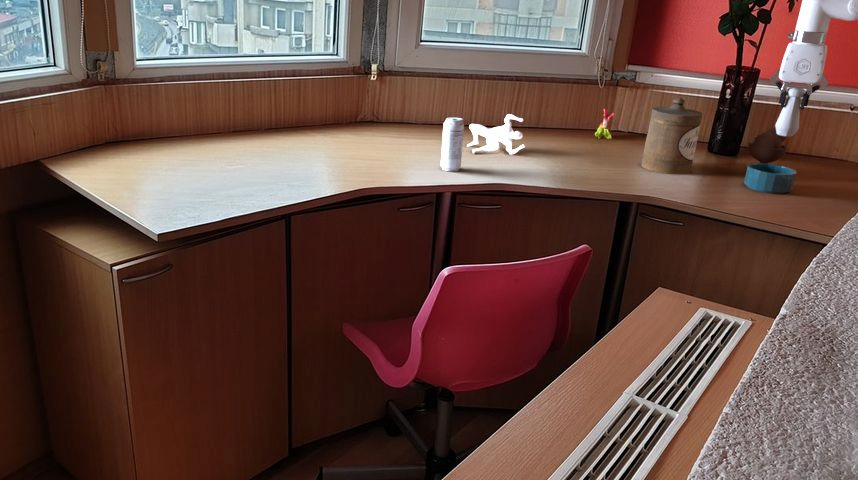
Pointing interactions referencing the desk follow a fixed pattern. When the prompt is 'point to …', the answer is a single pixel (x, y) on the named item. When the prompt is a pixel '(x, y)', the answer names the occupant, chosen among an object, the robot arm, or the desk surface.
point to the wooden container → (671, 139)
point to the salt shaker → (790, 113)
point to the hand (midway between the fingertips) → (792, 107)
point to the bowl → (770, 178)
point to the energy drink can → (452, 144)
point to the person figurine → (497, 136)
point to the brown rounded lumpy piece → (767, 146)
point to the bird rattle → (604, 126)
